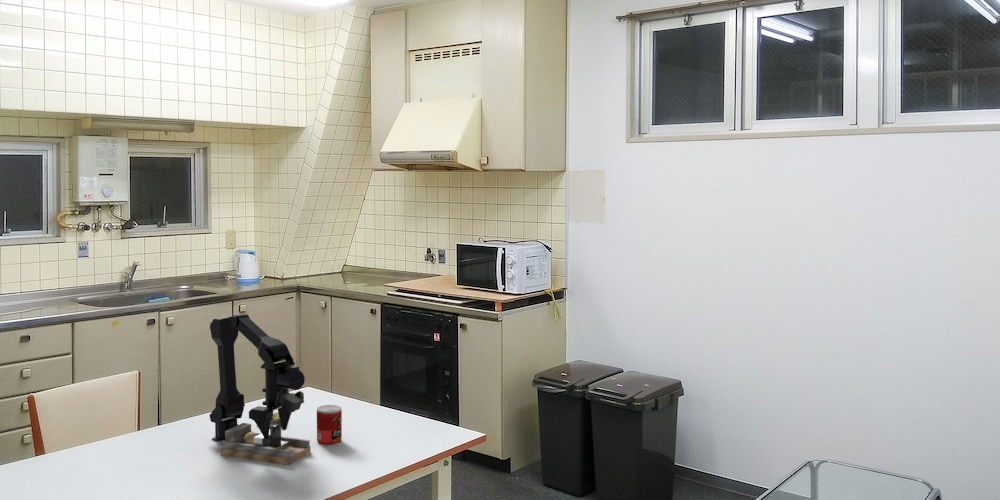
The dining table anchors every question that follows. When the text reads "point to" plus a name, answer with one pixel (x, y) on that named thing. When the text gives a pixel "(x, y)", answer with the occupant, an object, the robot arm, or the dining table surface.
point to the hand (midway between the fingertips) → (275, 434)
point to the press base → (262, 447)
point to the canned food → (329, 424)
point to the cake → (275, 420)
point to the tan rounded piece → (249, 438)
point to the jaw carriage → (271, 438)
